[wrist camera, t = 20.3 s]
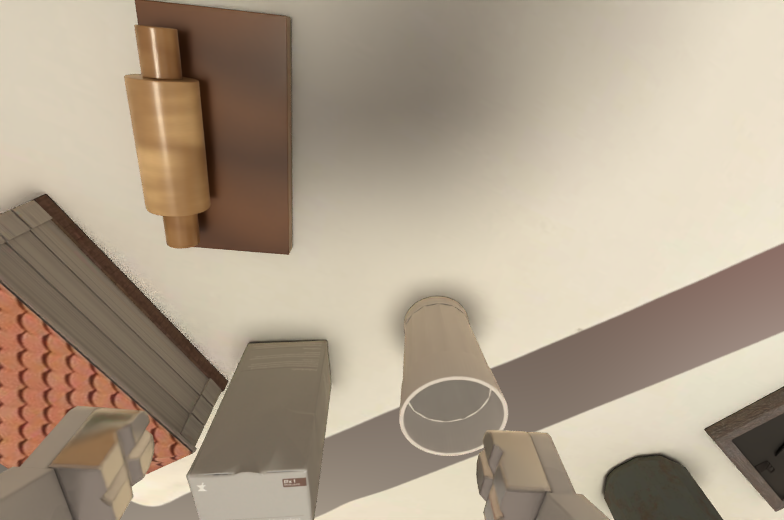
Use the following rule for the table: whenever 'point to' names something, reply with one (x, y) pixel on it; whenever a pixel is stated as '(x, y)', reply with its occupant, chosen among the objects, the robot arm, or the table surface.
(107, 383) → the model house
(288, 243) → the board
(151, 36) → the rolling pin
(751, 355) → the table surface
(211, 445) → the cosmetic box
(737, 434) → the picture frame
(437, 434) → the cup
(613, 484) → the bottle
